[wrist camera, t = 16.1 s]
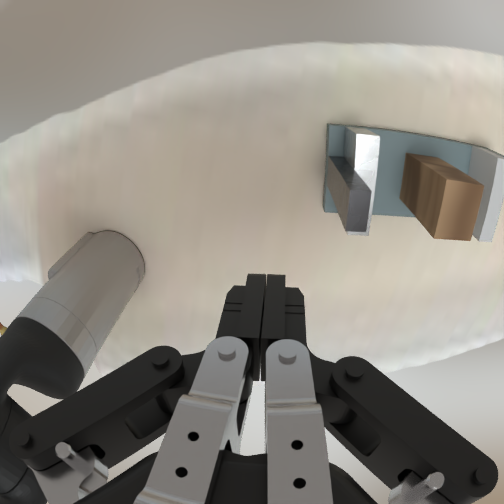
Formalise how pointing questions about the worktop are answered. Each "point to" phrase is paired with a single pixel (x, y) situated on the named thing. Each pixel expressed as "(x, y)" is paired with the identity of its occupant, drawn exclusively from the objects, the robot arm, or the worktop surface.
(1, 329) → the dark tapered tower
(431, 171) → the block
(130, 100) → the worktop surface
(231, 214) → the worktop surface
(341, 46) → the worktop surface
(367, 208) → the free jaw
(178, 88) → the worktop surface
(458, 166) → the vise
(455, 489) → the robot arm
